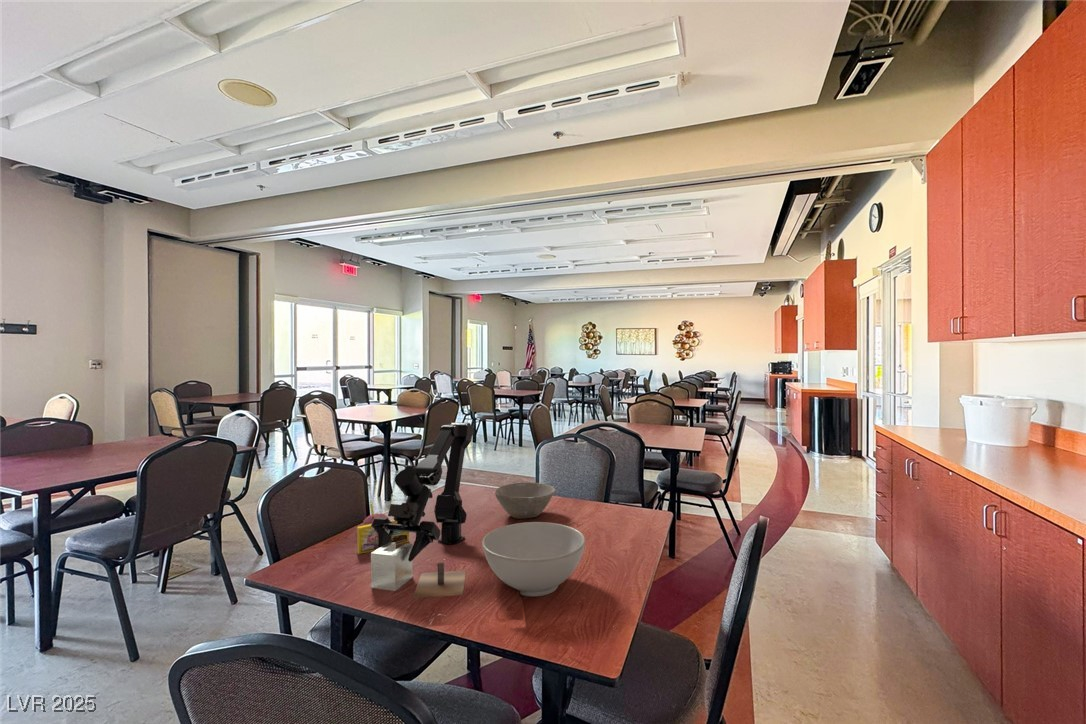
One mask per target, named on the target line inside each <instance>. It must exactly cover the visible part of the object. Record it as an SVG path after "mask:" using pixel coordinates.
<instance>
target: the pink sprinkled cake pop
mask: <svg viewBox="0 0 1086 724" xmlns="http://www.w3.org/2000/svg"><path fill="white" fill-rule="evenodd" d="M369 506H370V507H369V508H370V512H371V515H368V516H366V517H365V518H364V520H363V521H362V526H364V525H369V524H372V522H373V520H374V519H375V518H377V517H381V518H388V519H389V516H388V515H386V514H384V513H382V512H380V513H374V508H373V507H374V506H373V503H372V502H371V500H370V501H369ZM389 520H390V519H389Z"/></svg>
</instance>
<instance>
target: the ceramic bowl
mask: <svg viewBox="0 0 1086 724" xmlns="http://www.w3.org/2000/svg"><path fill="white" fill-rule="evenodd" d="M555 492H556V488H555V487H554V486H553V485H550V484H546V483H540V482H514V483H513V482H512V483H508V484H504V485H501V486H499V487H497V488H496V489H495V490H494V495H495V497H496V500H497V501H498V503H499V504H500V506H501V508H503V510H504V511H505V512H506V513H507V514H508V515H509V516H511V517H512V518H514V519H522V520H523V519H533V518H537V517H538V516H539V515H541V514H542V513H543V511H544V510H545V509H546V507H547V506H548V504H549V503H550V501H551V499H552V497H553V495H554V493H555Z"/></svg>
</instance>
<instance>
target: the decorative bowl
mask: <svg viewBox="0 0 1086 724" xmlns="http://www.w3.org/2000/svg"><path fill="white" fill-rule="evenodd" d="M481 547H482V550H483V551H482V552H483V555H484V556H485V558H486V561H487V563H488V566H490V568H491V570H492V572H493V573H494V574H495V576H497V578H498V579H499V580H501V581H502V582H503V583H504V584H506V585H507V586H508V587H510V588H513V589H515V590H517V591H519V594H520V595H521V596H525V597H542V596H546V595H550V594H552V593H553V592H555V591H556V590H557V589H558V588H559V585H561V584H562V583H564V582H565V581H566V580H568V578H569V577H571V576H572V575H573V572H574V571H575V569H576V568H577V567H578V566H579V563H580V561H581V559H582V557H583V553H584V550H585V547H586V537H585V536H584V534H583V533H582V532H581V531H579V530H578V529H576V528H574V527H571V526H570V525H569V526H568V525H564V524H561V523H555V522H547V521H546V522H544V521H543V522H542V521H532V522H531V521H529V522H519V523H518V522H517V523H513V524H508V525H503V526H501V527H498V528H495V529H493V530H491V531H489V532H488V533H486V534H485V536H483V539H482V541H481Z"/></svg>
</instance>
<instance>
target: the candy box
mask: <svg viewBox="0 0 1086 724" xmlns="http://www.w3.org/2000/svg"><path fill="white" fill-rule="evenodd" d="M389 520H390V521H391V522H392V523H397V521H395V520H394V518H393V519H389ZM356 529H357V531H356V532H357V533H356V534H357V535H356V537H357V540H356V542H357V543H356V553H357V554H358V555H362V554H366V553H369V552H370V553H372V552H374V551H375V550H377V549H378V533H377V532H376V531H375V530H374V528H373V527H372V526H371V524H369V525H364V526H363V525H360V526H357V527H356ZM390 536H391V537H392V538H391V540H390V542H396V546H398V545H404V544H405V543H406V544H408V543H410V532H403V531H394V532H393V534H391V535H390Z"/></svg>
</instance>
